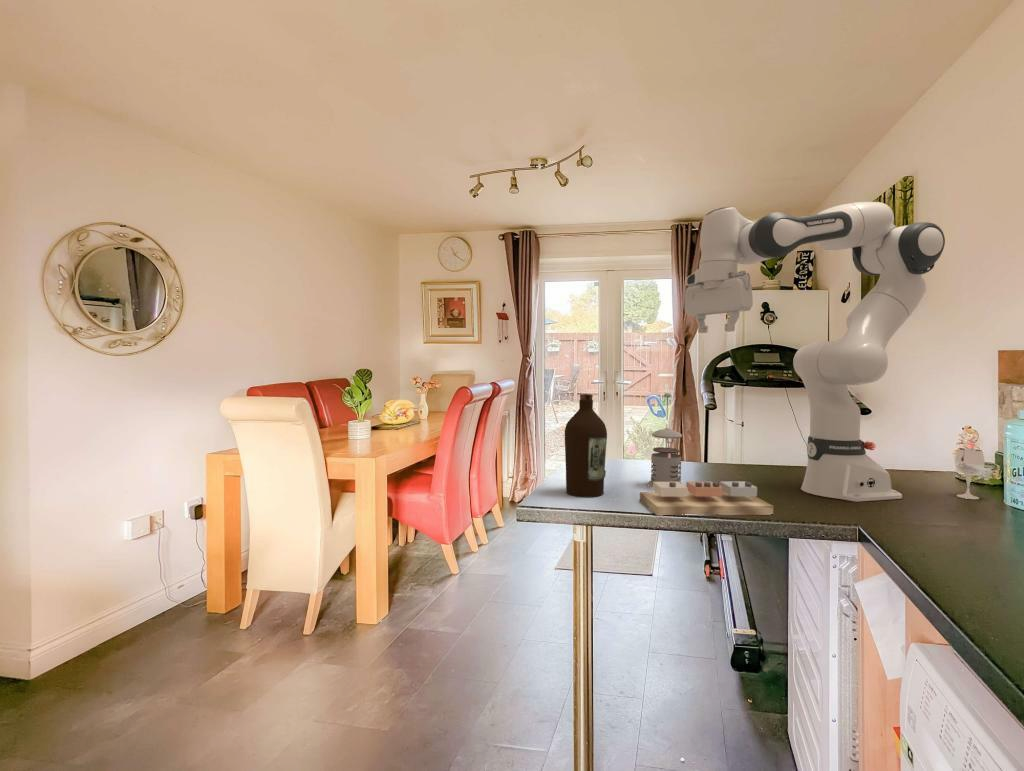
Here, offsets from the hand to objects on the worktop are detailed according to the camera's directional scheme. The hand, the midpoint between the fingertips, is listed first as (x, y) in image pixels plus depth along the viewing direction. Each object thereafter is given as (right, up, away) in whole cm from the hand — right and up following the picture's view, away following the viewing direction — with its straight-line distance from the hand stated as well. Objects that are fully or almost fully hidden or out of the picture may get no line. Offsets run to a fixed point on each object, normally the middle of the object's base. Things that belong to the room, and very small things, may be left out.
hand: (715, 332), depth 137 cm
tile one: (-14, -38, -9) cm, 41 cm away
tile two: (+2, -38, -9) cm, 39 cm away
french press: (-8, -40, +14) cm, 43 cm away
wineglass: (+64, -41, +3) cm, 77 cm away
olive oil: (-32, -41, +4) cm, 52 cm away
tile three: (-6, -38, -9) cm, 39 cm away
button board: (-6, -41, -9) cm, 43 cm away
